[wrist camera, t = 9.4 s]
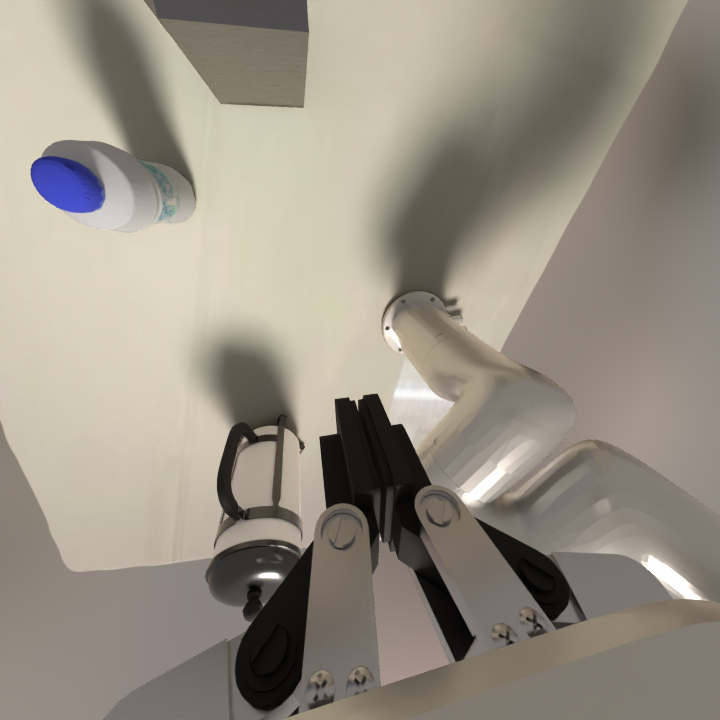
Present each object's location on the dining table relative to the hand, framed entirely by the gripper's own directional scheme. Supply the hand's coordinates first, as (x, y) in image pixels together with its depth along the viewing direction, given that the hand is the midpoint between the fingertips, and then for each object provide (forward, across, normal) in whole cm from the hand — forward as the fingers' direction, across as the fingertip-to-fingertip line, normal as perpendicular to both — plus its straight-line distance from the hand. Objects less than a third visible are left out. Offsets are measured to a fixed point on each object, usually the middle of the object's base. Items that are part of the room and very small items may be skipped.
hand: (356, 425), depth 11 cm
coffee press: (+37, +13, +35) cm, 53 cm away
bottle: (+37, +17, -9) cm, 42 cm away
